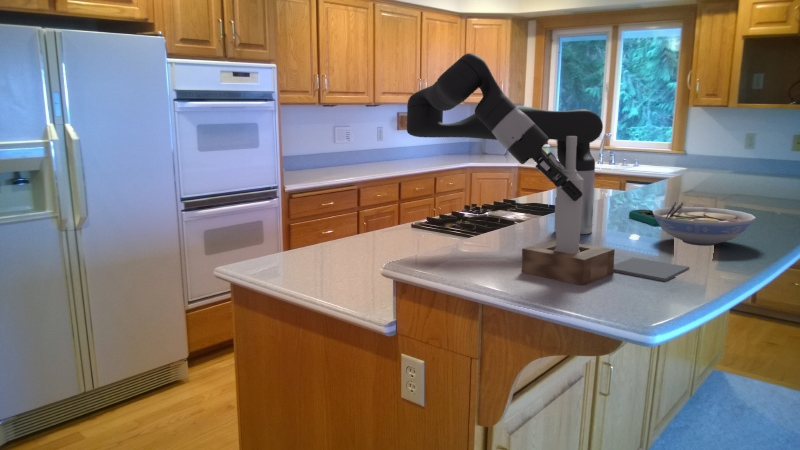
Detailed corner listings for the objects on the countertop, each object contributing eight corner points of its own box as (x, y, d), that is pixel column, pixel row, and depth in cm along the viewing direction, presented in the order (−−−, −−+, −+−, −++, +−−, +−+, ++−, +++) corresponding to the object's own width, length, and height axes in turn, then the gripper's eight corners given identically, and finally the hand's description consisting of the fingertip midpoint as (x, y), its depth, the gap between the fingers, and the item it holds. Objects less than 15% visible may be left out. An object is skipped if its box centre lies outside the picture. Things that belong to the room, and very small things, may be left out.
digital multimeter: (649, 217, 183) (649, 208, 183) (677, 226, 169) (678, 216, 168) (627, 219, 182) (627, 209, 182) (654, 227, 168) (654, 217, 167)
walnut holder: (521, 272, 121) (522, 248, 120) (553, 261, 129) (554, 239, 128) (583, 285, 111) (584, 259, 110) (613, 273, 119) (614, 249, 118)
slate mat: (606, 270, 121) (606, 267, 121) (632, 260, 129) (633, 257, 129) (664, 281, 112) (665, 278, 112) (689, 269, 120) (689, 266, 120)
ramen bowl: (751, 258, 129) (755, 222, 127) (641, 248, 140) (643, 214, 139) (754, 238, 149) (757, 206, 148) (658, 230, 161) (660, 201, 160)
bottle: (581, 262, 116) (586, 136, 112) (554, 261, 117) (559, 136, 113) (578, 256, 121) (584, 135, 117) (553, 255, 122) (557, 135, 118)
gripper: (510, 146, 126) (565, 203, 124) (502, 151, 112) (564, 214, 111) (535, 121, 123) (592, 179, 122) (530, 122, 110) (594, 187, 108)
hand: (578, 195), depth 116 cm, fingers closed on bottle, 5 cm apart
